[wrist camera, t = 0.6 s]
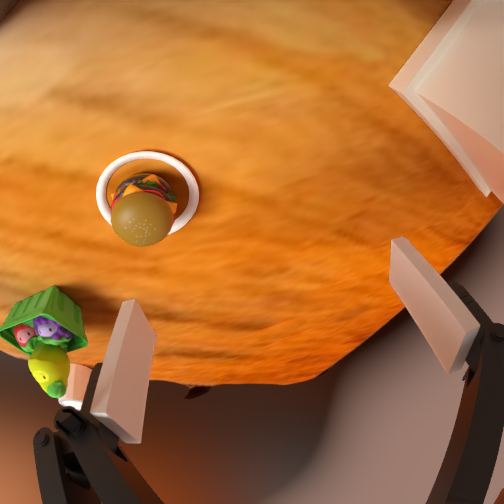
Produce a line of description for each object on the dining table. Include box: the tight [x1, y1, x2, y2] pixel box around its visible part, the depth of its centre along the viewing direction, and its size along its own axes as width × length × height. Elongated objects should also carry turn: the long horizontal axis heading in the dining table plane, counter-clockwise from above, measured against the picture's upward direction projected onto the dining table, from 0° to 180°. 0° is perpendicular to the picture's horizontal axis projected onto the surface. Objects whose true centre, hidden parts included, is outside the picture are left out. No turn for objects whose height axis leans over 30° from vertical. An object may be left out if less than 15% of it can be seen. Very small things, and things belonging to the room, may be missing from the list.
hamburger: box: [96, 151, 199, 247], centre depth 23 cm, size 12×12×6 cm
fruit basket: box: [0, 286, 88, 398], centre depth 29 cm, size 11×9×11 cm
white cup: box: [59, 364, 92, 410], centre depth 43 cm, size 7×7×7 cm
